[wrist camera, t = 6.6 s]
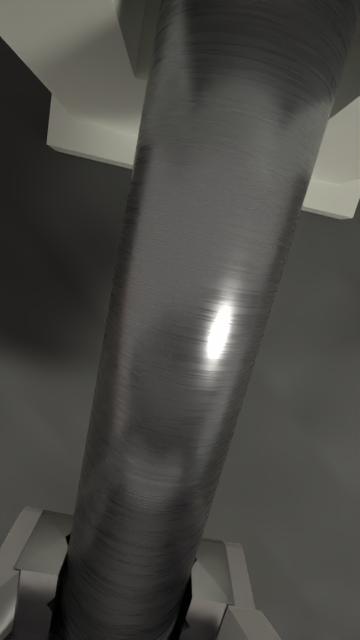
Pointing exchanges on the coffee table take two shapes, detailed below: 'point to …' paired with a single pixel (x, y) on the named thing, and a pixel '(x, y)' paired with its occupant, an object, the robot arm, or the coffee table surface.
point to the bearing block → (130, 86)
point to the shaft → (193, 293)
